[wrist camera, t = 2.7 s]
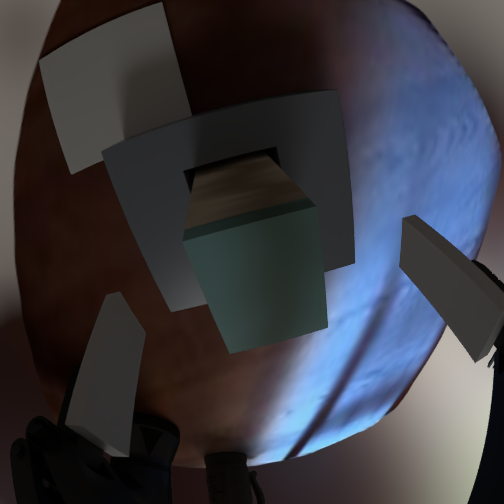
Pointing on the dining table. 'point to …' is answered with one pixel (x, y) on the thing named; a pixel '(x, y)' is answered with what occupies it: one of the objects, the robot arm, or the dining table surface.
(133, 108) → the coaster
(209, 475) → the beer stein
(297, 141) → the block
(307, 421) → the dining table surface
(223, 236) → the teal and tan block
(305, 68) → the dining table surface
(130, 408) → the robot arm
